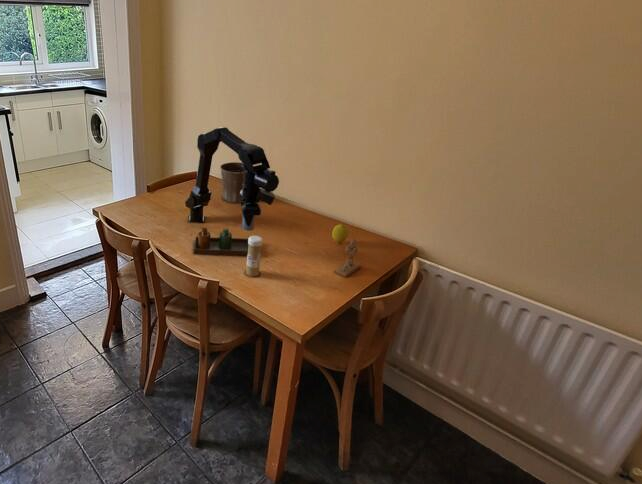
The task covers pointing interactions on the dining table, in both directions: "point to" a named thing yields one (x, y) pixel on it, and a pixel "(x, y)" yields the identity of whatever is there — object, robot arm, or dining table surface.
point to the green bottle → (225, 240)
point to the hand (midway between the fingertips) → (248, 223)
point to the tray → (237, 248)
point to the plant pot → (232, 181)
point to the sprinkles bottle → (254, 255)
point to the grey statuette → (349, 266)
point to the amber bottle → (204, 239)
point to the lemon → (340, 233)
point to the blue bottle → (244, 225)
